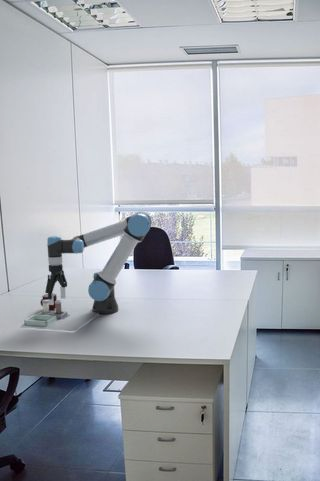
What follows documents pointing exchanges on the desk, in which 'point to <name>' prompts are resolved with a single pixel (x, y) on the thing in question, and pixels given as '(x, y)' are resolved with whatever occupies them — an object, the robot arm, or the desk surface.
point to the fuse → (45, 306)
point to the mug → (45, 297)
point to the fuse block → (53, 313)
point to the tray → (32, 321)
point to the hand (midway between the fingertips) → (57, 301)
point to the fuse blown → (58, 307)
